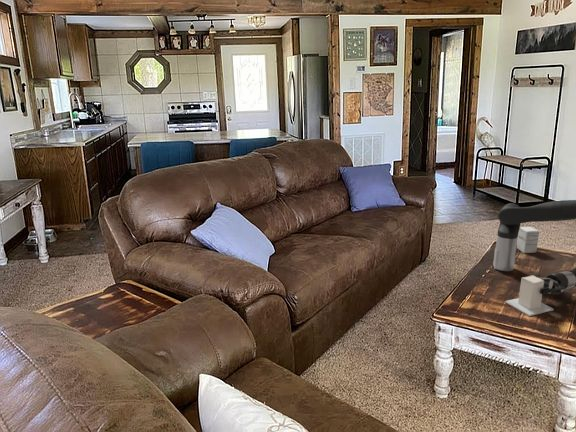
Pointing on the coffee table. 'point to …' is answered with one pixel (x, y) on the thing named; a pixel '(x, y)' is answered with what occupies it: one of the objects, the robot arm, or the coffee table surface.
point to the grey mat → (527, 311)
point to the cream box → (530, 292)
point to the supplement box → (528, 239)
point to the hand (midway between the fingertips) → (532, 287)
